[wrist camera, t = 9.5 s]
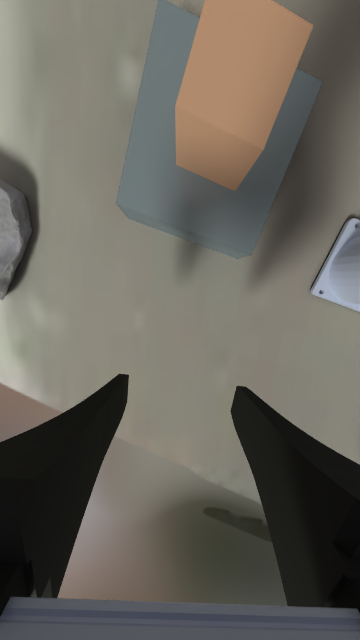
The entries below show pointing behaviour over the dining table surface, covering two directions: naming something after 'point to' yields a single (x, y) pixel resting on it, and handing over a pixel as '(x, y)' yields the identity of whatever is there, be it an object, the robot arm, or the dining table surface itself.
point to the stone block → (12, 232)
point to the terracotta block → (235, 85)
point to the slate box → (185, 186)
